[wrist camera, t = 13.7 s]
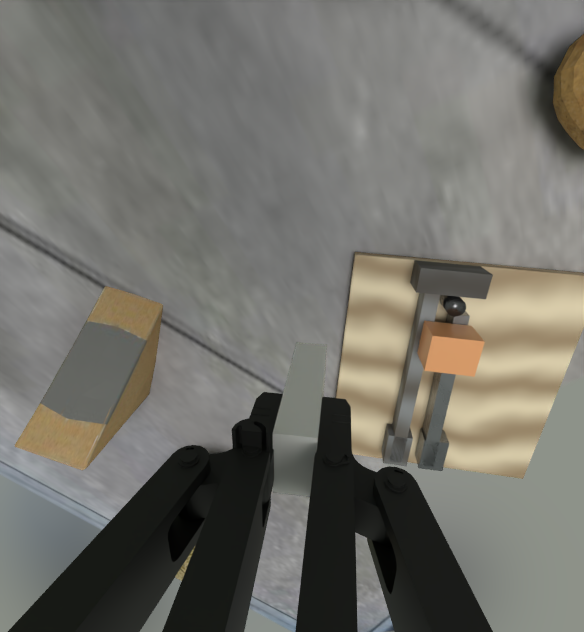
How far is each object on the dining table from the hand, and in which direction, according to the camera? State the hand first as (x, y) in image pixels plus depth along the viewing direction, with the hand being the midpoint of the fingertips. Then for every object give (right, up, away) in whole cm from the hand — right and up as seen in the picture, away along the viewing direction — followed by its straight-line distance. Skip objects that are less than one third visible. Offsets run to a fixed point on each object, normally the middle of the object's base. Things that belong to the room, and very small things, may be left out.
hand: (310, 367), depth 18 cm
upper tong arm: (+17, -6, +27) cm, 32 cm away
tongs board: (+18, -4, +28) cm, 34 cm away
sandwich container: (-24, -1, +33) cm, 41 cm away
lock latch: (+16, 0, +22) cm, 27 cm away
